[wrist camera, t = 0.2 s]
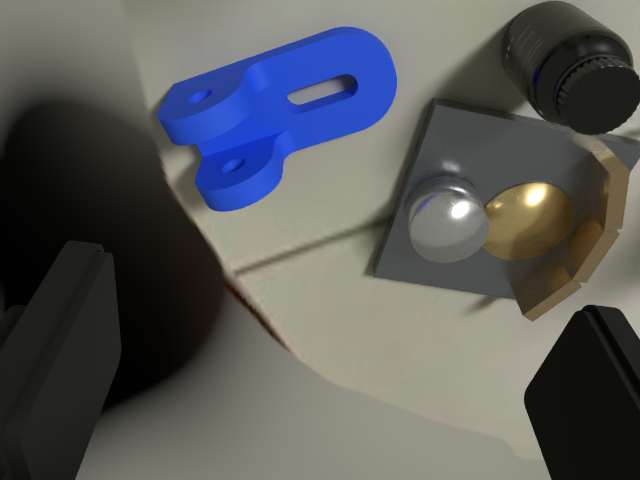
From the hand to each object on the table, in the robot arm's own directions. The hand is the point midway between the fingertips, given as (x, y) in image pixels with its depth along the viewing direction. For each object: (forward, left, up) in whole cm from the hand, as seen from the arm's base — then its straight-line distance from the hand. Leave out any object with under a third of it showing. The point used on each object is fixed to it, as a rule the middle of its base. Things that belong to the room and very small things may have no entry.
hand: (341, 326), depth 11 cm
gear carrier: (+18, +20, -36) cm, 45 cm away
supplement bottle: (+2, +18, -37) cm, 41 cm away
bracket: (+10, -1, -37) cm, 38 cm away
